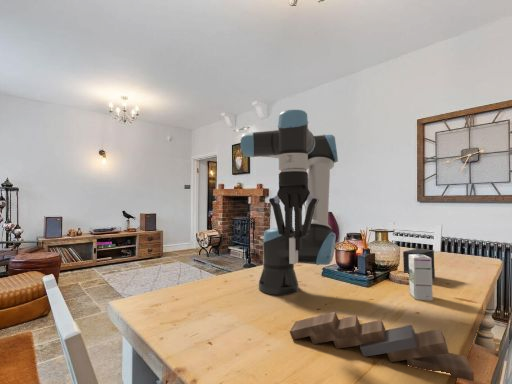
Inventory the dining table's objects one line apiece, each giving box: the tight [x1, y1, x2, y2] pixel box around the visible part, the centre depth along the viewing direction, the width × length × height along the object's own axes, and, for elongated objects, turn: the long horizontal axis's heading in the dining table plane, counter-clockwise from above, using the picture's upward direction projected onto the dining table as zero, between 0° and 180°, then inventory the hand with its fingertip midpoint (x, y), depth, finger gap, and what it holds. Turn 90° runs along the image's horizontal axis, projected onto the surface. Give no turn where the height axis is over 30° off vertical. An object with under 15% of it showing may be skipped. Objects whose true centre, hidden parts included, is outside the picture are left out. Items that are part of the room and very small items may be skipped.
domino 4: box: [359, 324, 417, 358], centre depth 60 cm, size 2×6×11 cm
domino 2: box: [309, 315, 361, 345], centre depth 66 cm, size 2×6×11 cm
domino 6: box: [406, 352, 475, 382], centre depth 57 cm, size 2×6×11 cm
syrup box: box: [408, 254, 434, 302], centre depth 96 cm, size 6×6×14 cm
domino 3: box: [332, 319, 386, 350], centre depth 64 cm, size 2×6×11 cm
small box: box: [402, 248, 436, 279], centre depth 119 cm, size 13×7×12 cm, turn 123°
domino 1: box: [289, 311, 339, 340], centre depth 68 cm, size 2×6×11 cm
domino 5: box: [386, 328, 450, 363], centre depth 58 cm, size 2×6×11 cm
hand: (293, 262), depth 71 cm, fingers closed
